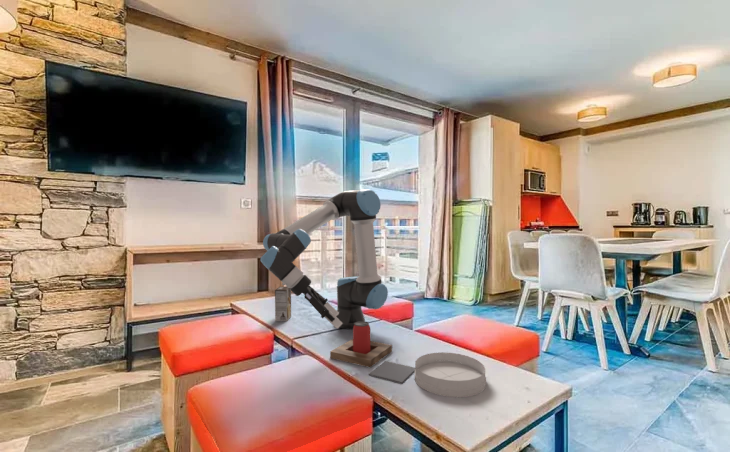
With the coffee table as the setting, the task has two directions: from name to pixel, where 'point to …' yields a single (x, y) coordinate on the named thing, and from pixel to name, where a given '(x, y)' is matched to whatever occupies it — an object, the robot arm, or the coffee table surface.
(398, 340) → the coffee table surface
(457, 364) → the dish
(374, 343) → the pocket tray
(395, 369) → the coaster
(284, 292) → the coffee box
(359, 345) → the beer can
